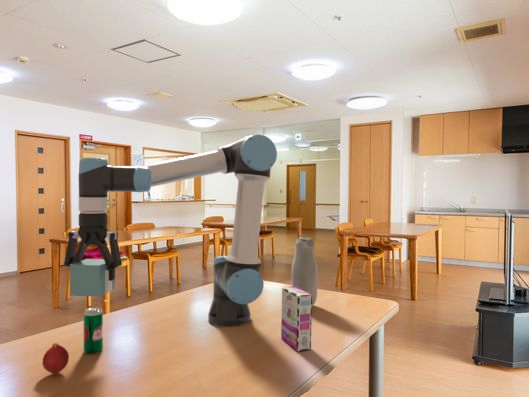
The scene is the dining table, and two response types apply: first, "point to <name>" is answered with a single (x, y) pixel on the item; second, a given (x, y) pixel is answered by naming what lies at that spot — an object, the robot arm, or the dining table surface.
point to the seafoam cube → (88, 278)
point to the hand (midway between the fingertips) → (93, 291)
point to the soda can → (93, 330)
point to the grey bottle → (305, 267)
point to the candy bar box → (296, 318)
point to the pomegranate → (55, 359)
